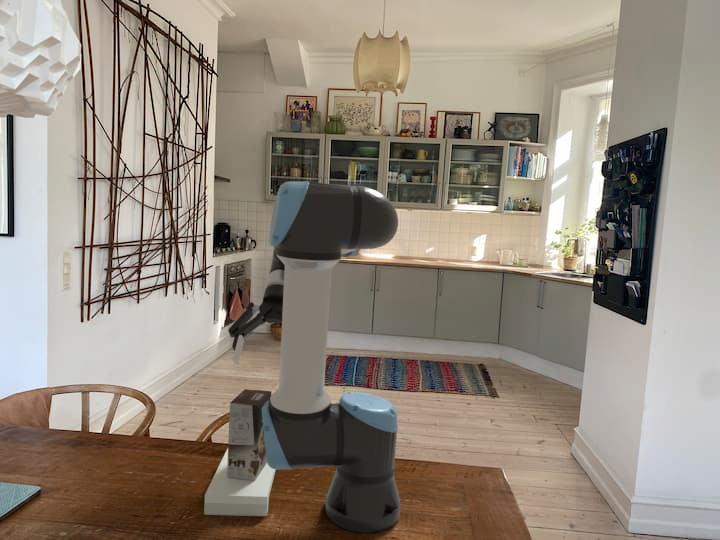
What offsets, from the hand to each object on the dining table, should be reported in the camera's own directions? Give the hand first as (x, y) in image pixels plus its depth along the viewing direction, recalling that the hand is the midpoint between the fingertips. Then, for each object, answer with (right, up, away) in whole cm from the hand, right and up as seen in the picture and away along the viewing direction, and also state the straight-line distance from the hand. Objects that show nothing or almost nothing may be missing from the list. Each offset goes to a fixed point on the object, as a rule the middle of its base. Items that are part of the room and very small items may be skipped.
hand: (264, 363), depth 112 cm
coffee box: (-2, -21, -8) cm, 23 cm away
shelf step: (-2, -25, -8) cm, 26 cm away
